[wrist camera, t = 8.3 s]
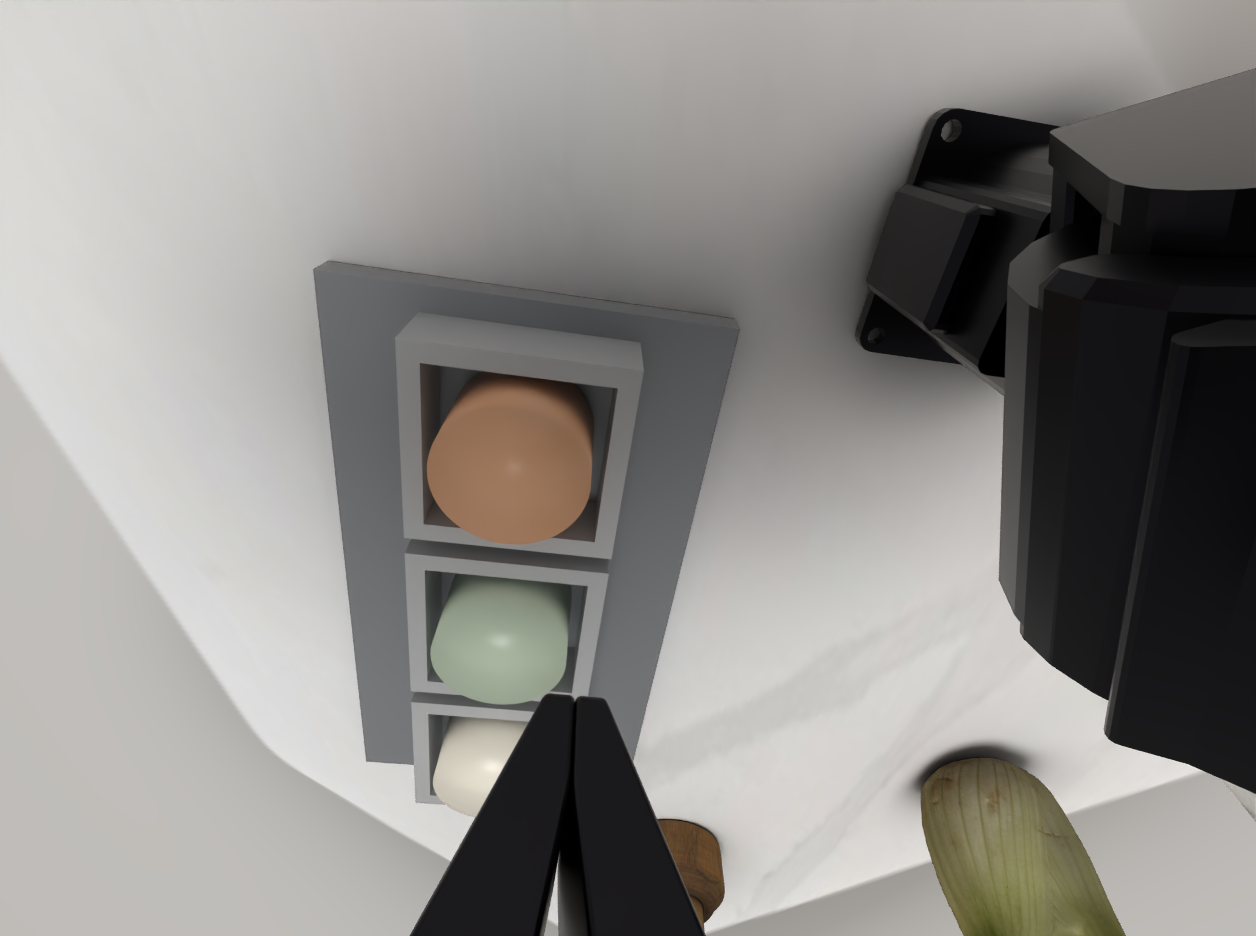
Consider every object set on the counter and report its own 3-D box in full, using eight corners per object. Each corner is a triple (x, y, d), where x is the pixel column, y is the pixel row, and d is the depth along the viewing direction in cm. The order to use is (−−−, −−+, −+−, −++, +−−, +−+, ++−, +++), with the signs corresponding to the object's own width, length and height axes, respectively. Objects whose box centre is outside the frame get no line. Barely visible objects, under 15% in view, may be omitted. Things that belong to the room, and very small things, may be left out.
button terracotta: (602, 372, 18) (600, 417, 16) (585, 495, 21) (582, 552, 18) (452, 353, 18) (425, 395, 15) (451, 480, 20) (427, 536, 18)
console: (734, 318, 19) (754, 356, 16) (628, 760, 30) (629, 827, 27) (327, 260, 18) (275, 290, 15) (373, 741, 29) (348, 809, 26)
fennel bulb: (893, 797, 32) (1026, 1126, 22) (927, 737, 30) (1095, 1076, 19) (999, 802, 33) (1178, 1127, 22) (1042, 743, 30) (1265, 1079, 20)
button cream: (559, 689, 25) (553, 755, 23) (550, 755, 28) (544, 822, 25) (450, 680, 25) (432, 746, 22) (450, 747, 27) (433, 815, 25)
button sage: (577, 556, 22) (572, 617, 19) (565, 644, 24) (559, 709, 22) (451, 543, 22) (429, 603, 19) (450, 633, 24) (431, 699, 21)
